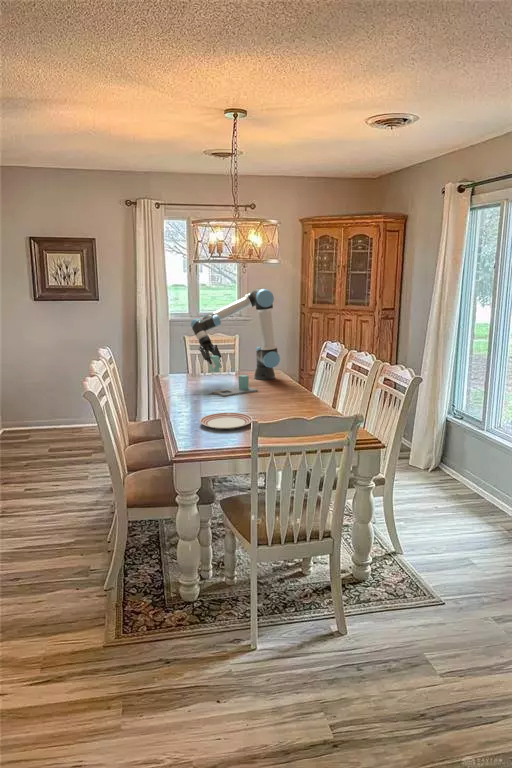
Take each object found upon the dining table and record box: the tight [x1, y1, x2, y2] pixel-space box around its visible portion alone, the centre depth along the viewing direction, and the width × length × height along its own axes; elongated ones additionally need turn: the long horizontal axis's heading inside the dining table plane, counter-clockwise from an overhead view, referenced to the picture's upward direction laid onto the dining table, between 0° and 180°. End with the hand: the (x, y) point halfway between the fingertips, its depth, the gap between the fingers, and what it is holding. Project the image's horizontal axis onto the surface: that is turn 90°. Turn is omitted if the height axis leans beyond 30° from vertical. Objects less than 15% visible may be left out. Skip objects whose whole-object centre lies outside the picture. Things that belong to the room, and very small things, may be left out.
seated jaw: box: [238, 374, 250, 390], centre depth 387 cm, size 5×5×10 cm
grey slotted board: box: [211, 386, 258, 398], centre depth 384 cm, size 26×14×1 cm, turn 127°
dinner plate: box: [199, 412, 253, 430], centre depth 309 cm, size 27×27×3 cm
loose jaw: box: [209, 355, 221, 373], centre depth 386 cm, size 5×5×10 cm
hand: (217, 367), depth 383 cm, fingers closed on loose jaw, 5 cm apart
